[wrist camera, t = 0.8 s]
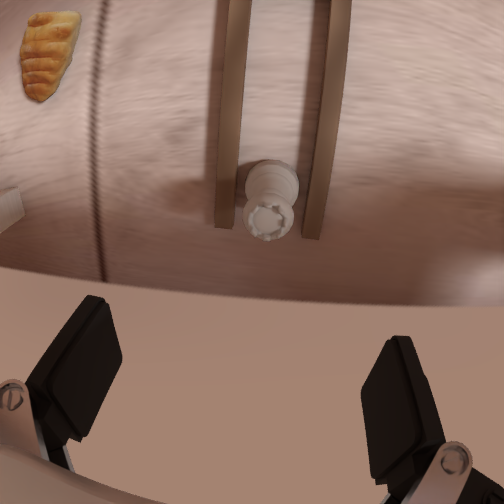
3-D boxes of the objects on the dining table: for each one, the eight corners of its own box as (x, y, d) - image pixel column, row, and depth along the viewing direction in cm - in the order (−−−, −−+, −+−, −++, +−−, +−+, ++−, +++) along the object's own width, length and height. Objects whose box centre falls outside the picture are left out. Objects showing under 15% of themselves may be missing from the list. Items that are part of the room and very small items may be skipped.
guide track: (350, -31, 16) (353, -36, 15) (317, 233, 28) (318, 239, 27) (237, -43, 16) (235, -49, 15) (217, 221, 28) (214, 227, 27)
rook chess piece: (263, 217, 27) (255, 266, 20) (235, 175, 26) (216, 210, 19) (308, 193, 26) (317, 236, 19) (281, 148, 24) (280, 174, 17)
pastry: (71, 100, 23) (46, 105, 20) (26, 98, 23) (2, 103, 20) (89, 9, 19) (65, 3, 15) (41, 15, 19) (16, 13, 15)
